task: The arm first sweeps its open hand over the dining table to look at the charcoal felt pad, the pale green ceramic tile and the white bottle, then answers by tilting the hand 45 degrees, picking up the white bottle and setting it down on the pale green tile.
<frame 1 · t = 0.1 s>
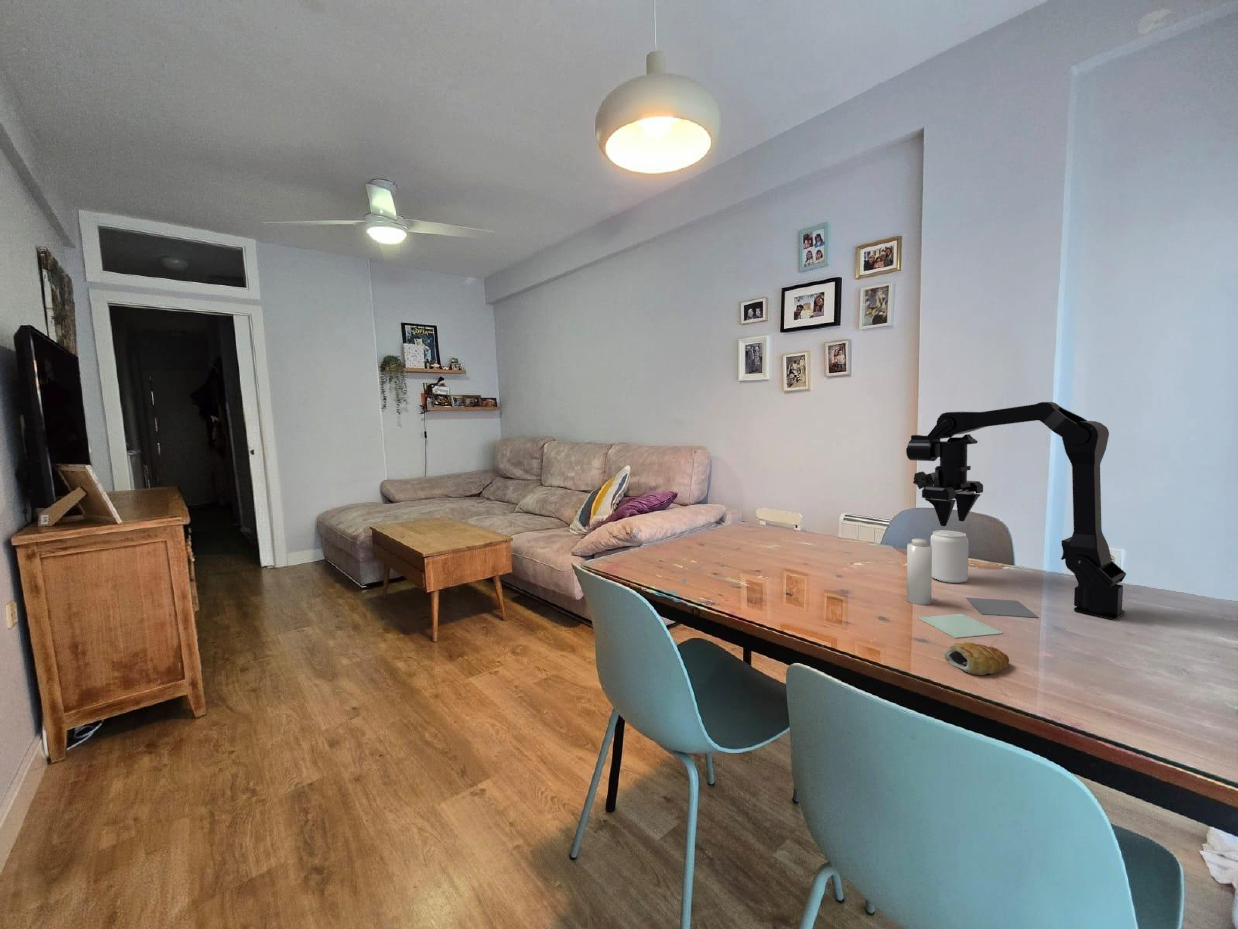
hand: (952, 523, 128), 15 cm above the table, tool pointing down, fingers open, 9 cm apart
pastry: (975, 667, 86), on the table
felt pad: (1000, 607, 110), on the table
white bottle: (919, 601, 116), on the table
green tile: (958, 625, 102), on the table
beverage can: (948, 580, 130), on the table
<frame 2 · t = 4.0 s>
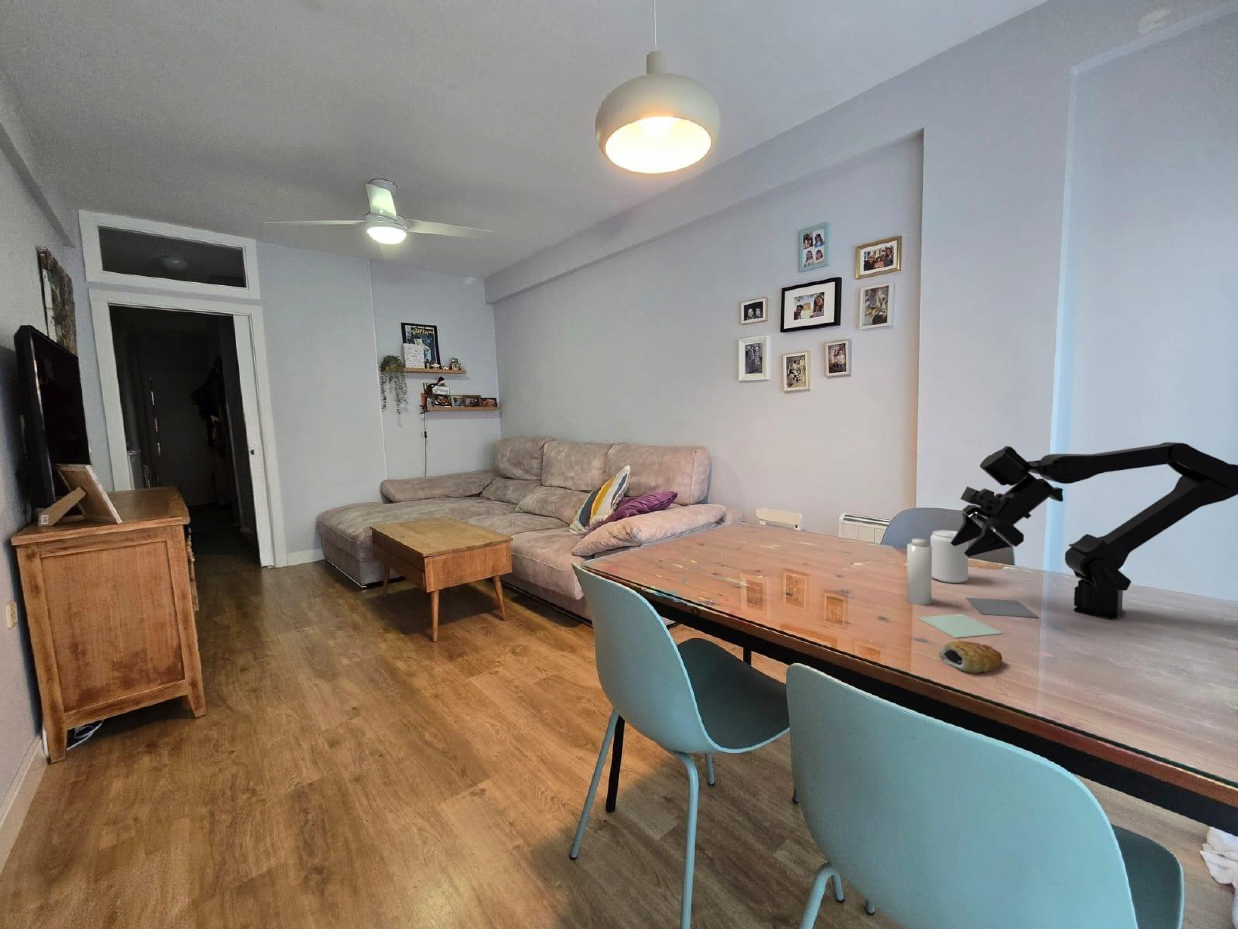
hand: (958, 549, 112), 12 cm above the table, tool tilted 45°, fingers open, 9 cm apart
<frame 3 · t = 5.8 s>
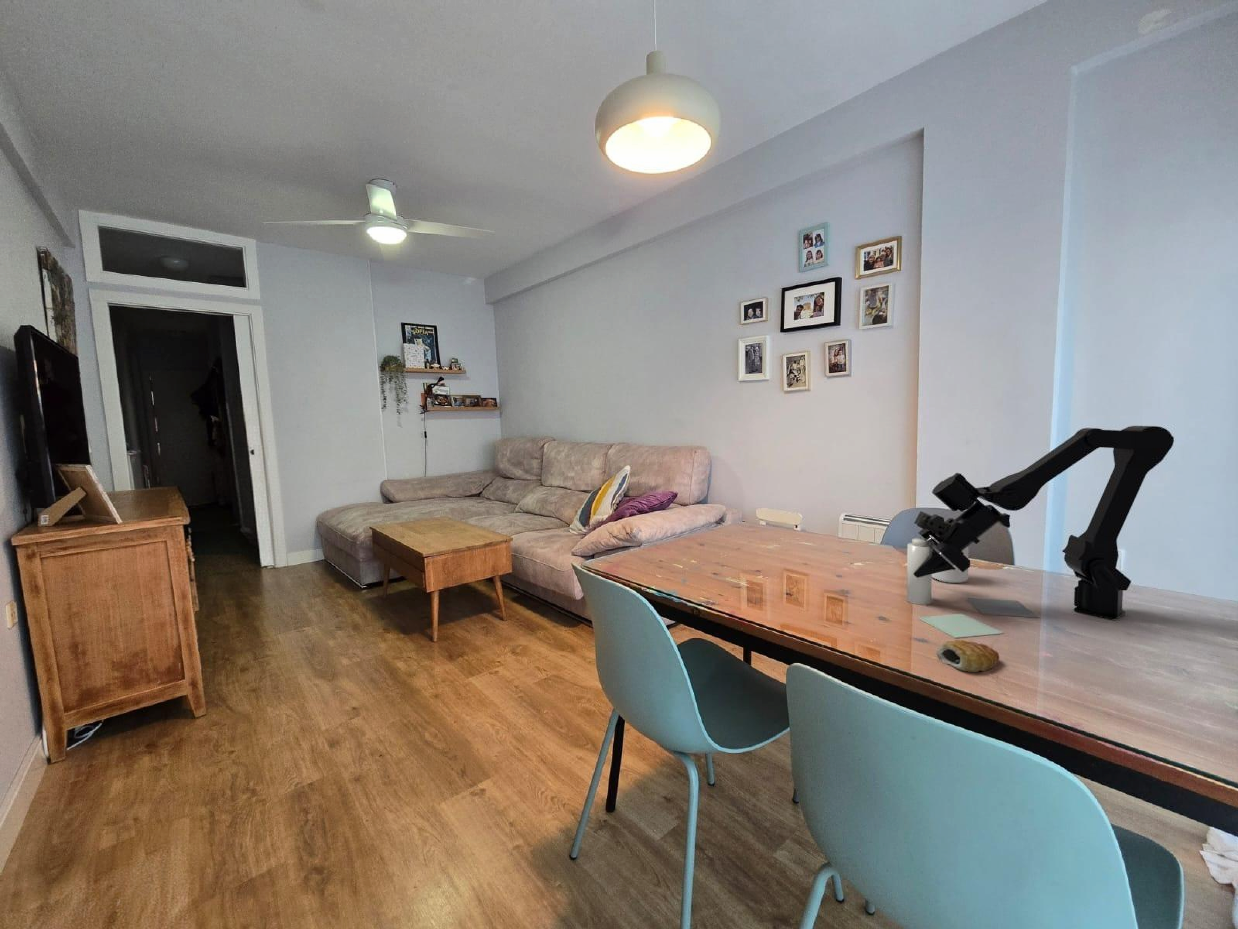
hand: (912, 572, 116), 7 cm above the table, tool tilted 45°, fingers closed on white bottle, 5 cm apart
white bottle: (918, 601, 116), on the table, touching gripper
when the fingers open (8 cm above the table, at t = 9.2 s): white bottle stays where it is, resting on green tile.
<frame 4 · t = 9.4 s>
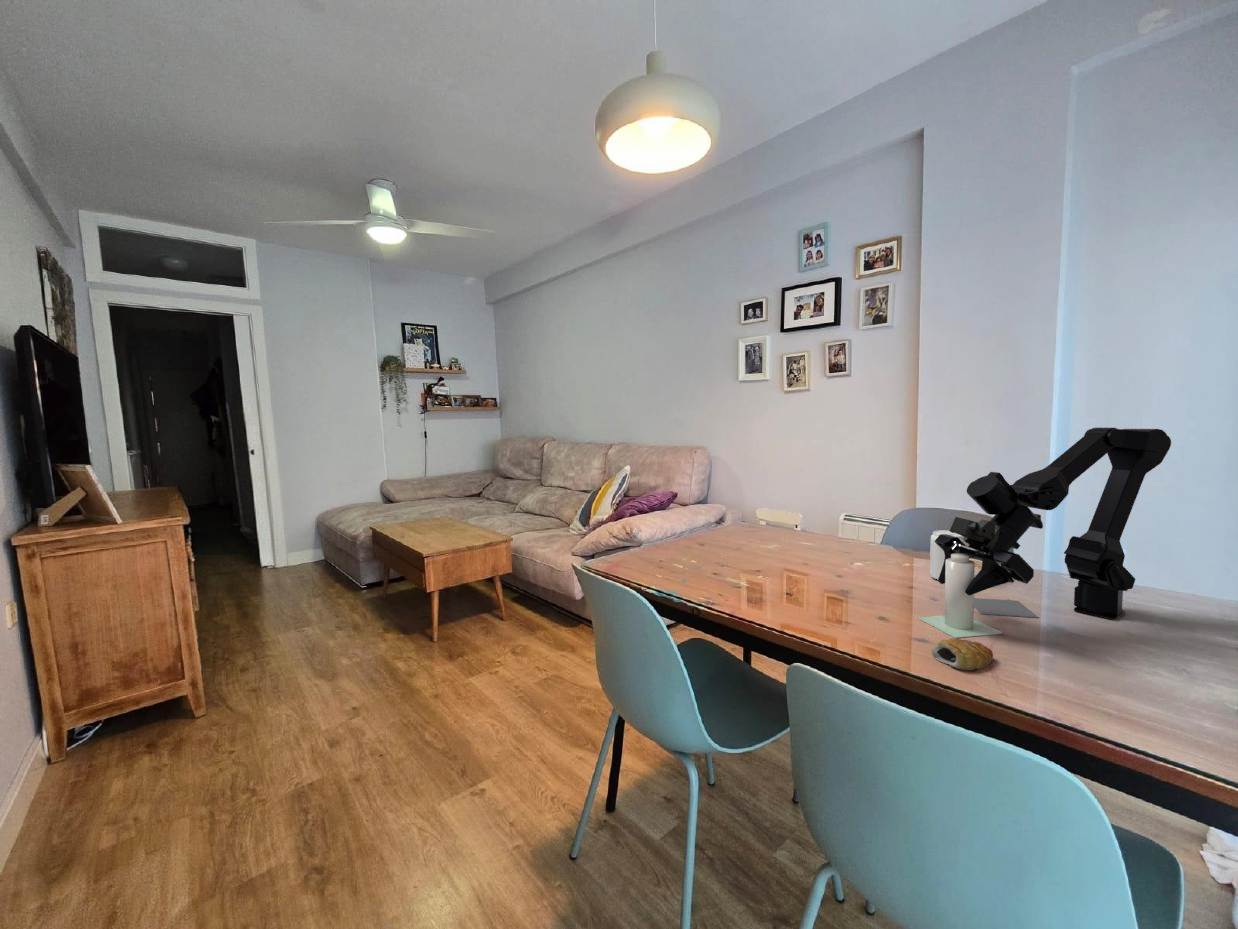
hand: (952, 588, 101), 8 cm above the table, tool tilted 45°, fingers open, 7 cm apart
white bottle: (958, 625, 102), resting on green tile
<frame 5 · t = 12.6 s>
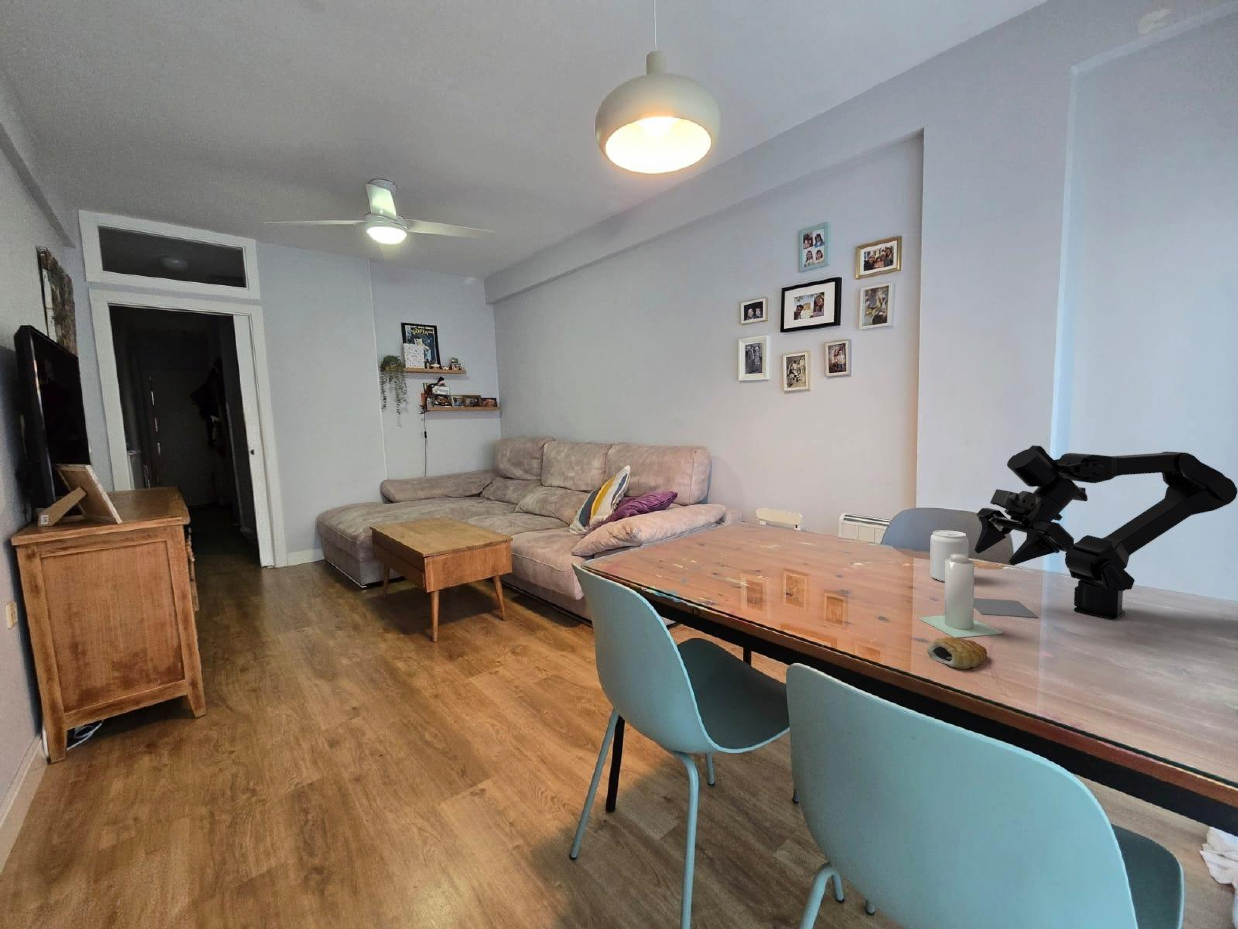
hand: (992, 557, 104), 13 cm above the table, tool tilted 45°, fingers open, 9 cm apart
at the end: white bottle 0.0 cm from the green tile (horizontally); white bottle tilted 1°; the gripper is holding nothing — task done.
